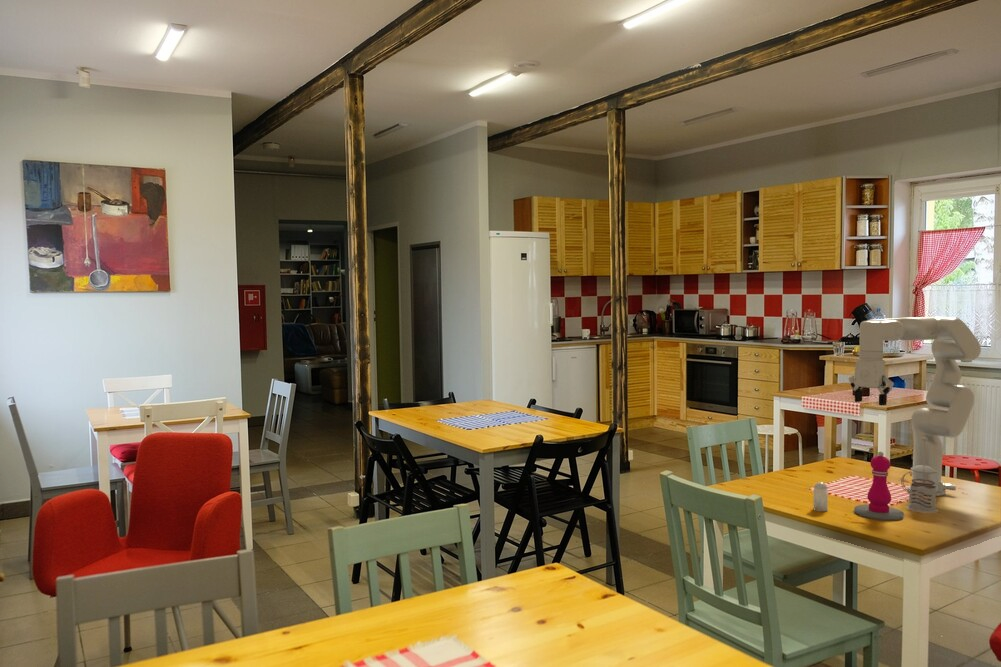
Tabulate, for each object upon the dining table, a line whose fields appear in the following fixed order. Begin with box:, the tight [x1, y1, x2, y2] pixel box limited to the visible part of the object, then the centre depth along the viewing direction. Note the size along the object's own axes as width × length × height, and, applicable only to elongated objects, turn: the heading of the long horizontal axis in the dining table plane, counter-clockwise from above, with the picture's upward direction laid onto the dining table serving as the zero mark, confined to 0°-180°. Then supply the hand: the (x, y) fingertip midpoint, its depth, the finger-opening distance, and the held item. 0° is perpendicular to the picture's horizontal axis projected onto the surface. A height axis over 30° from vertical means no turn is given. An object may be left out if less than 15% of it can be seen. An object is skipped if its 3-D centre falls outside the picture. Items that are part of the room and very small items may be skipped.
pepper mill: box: [866, 451, 892, 513], centre depth 258 cm, size 7×7×20 cm
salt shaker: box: [813, 481, 829, 512], centre depth 263 cm, size 4×4×10 cm
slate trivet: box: [853, 504, 905, 522], centre depth 258 cm, size 15×15×1 cm
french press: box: [901, 437, 939, 514], centre depth 265 cm, size 10×12×25 cm
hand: (870, 403), depth 273 cm, fingers open, 9 cm apart
